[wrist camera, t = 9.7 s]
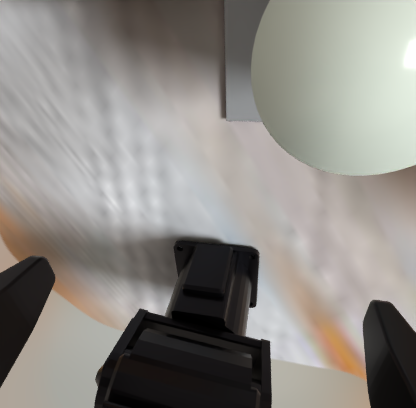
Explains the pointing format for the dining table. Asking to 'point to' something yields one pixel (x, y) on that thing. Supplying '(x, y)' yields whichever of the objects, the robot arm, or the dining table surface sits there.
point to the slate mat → (241, 57)
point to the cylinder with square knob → (339, 82)
